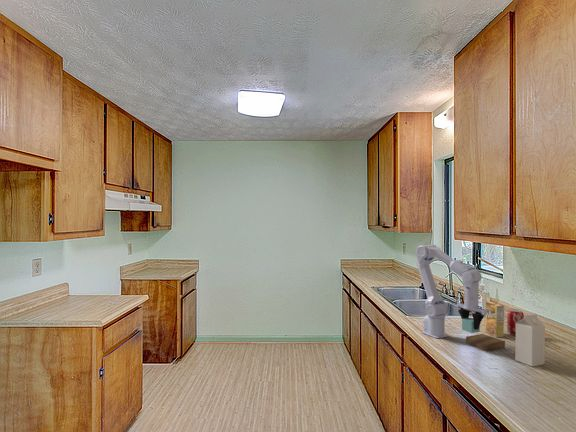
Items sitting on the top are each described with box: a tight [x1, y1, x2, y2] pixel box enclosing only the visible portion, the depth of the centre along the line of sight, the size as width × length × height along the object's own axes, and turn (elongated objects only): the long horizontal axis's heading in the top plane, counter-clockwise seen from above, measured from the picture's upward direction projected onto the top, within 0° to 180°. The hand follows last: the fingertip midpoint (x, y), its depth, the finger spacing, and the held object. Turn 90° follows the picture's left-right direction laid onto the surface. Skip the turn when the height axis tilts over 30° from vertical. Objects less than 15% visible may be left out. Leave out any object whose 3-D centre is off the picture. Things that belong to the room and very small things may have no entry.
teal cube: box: [461, 317, 481, 334], centre depth 167 cm, size 5×5×5 cm
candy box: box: [484, 301, 505, 338], centre depth 185 cm, size 9×4×15 cm, turn 6°
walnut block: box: [465, 333, 506, 352], centre depth 168 cm, size 11×11×4 cm
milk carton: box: [514, 313, 546, 367], centre depth 149 cm, size 7×7×19 cm
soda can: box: [506, 308, 524, 337], centre depth 185 cm, size 7×7×12 cm
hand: (471, 327), depth 167 cm, fingers closed on teal cube, 5 cm apart
